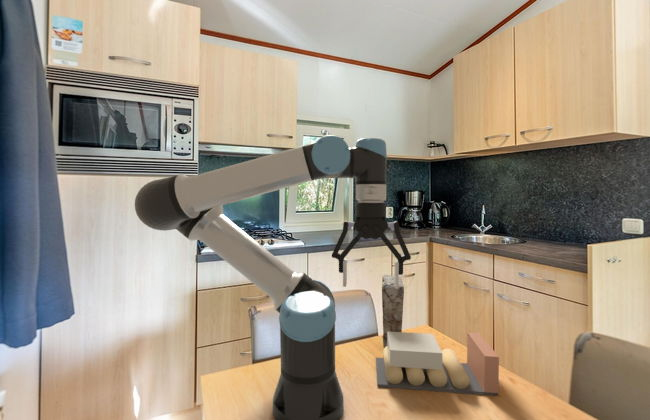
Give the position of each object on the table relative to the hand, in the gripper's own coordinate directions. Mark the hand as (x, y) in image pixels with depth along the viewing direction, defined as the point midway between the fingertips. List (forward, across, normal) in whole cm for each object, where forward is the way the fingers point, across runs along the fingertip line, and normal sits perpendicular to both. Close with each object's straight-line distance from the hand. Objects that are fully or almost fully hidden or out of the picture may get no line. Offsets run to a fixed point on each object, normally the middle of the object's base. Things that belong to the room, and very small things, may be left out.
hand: (370, 286), depth 78 cm
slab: (+18, +11, 0) cm, 21 cm away
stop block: (+22, +27, 0) cm, 35 cm away
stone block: (+23, +7, +16) cm, 29 cm away
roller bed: (+22, +15, 0) cm, 27 cm away
